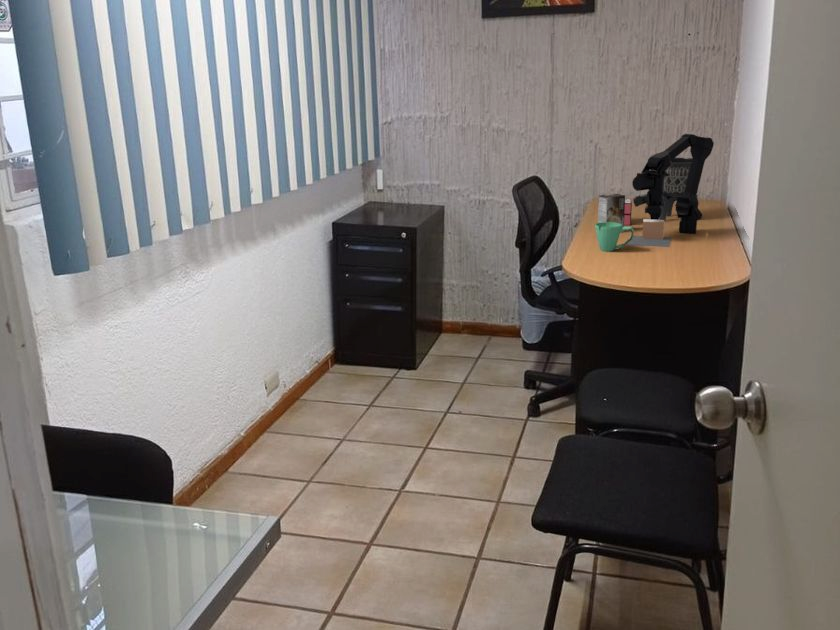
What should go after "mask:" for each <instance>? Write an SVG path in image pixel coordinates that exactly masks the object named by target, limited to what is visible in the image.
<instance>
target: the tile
mask: <svg viewBox="0 0 840 630" xmlns="http://www.w3.org/2000/svg"><path fill="white" fill-rule="evenodd" d="M664 233H665V222H664V220H653V219H651V218H649V219H648V218H643V220H642V236H643V239H662V240H663V238H664V237H665V235H664Z"/></svg>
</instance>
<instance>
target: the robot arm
mask: <svg viewBox="0 0 840 630" xmlns="http://www.w3.org/2000/svg"><path fill="white" fill-rule="evenodd" d="M714 145H715V143H714V141H713V139H712V138H711V137H708V136H707V137H705V136H699V135H695V134H692V133H684V134H682V135H681V137H680V138H679V139H677V140H676V141H675V142H673V143H672V144H671V145H670V146H668V147H667V148H666V149H664V150H663V151H662V152H661V151H660V152H657V153H655V154H653V155H651V156H650V157H649V158H648V159H647V162H646V164H645V166H644V167H643V169H642V170H641V172H637V173H636V176H635V177H634V178H633V180H632V187H633V189H634V190H635V191H637V192H639V191H647V192H646V193H645V194H642V195H637V196H635V197H634V198H632V201H633V204H634V207H635V208H636V207H639V206H641V205H646V206H645V208H644V213H645V214H648V215H649V217H650V219H653V220H659V219H660V215H661V213H662V211H663V209H662V207H664V202H665V201H664V200H663V193H664V190H663V189H664V177H666V176H668V174H667V173H666V172H665V170H666V169H667V168H668V167H669V166H670V165H671V161H672V160H673V159H674V158H678V156H679V155H681V154H682V153H683V152H684V151H685V150H687V149H688V148H689V147H690V155H691V158H692V162H691V166H690V170H689V174H688V179H687V183H686V187H685V191H684V194H683V195H682V196H681V197H680V196H678V198H677V201H675V202H676V203H675V205H674V206H675V211H676V216H677V218H678V219H679V218H680V220H679V224H678V226H679V227H678V232H679V234H687V235H689V234H690V235H697V232H698V231H697V228H698V221H700V220H702V218H703V213H702V212H701V211H700V209H699V200H698V199H699V198H698V192H699V186H700V181H701V178H702V174H703V169H704V165H705V162H706V160H707V159H708V157H710V155H711V154H712V151H713V148H714ZM697 191H698V192H697ZM661 206H662V207H661Z"/></svg>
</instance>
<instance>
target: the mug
mask: <svg viewBox="0 0 840 630" xmlns="http://www.w3.org/2000/svg"><path fill="white" fill-rule="evenodd" d="M594 226H595V231H596V238H597V242H598V246H599V249H600V251H602V252H605V251H606V252H608V253H610V252H614V250H617V249H620V248H623V247H625V246H627V244H628V243H629V242H630V241H631V240H632V239H633V236H635V235H634V234H635V230H634V228H633V227H632V226H624V227H622V225H621V224H619V223H614V222H601V223H598V222H597V223H595V225H594ZM621 227H622V228H621ZM621 231H624V232H625V231H630V236H629V237H628V239H627V240H626V241H624V243H621V244H619V245H617V244H618V241H619V239H620V234H621V233H622V232H621Z"/></svg>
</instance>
